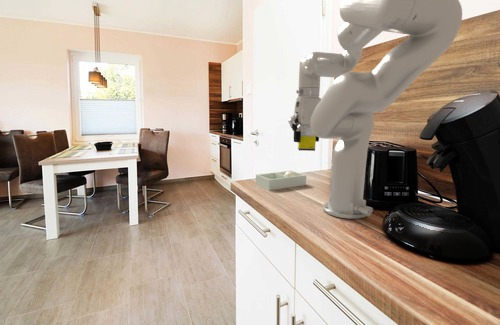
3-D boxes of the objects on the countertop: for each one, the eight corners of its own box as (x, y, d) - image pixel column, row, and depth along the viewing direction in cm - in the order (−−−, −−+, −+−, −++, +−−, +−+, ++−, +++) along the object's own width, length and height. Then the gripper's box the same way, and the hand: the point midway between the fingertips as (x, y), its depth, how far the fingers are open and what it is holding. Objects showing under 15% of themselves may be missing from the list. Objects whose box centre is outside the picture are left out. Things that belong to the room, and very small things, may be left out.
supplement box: (313, 149, 101) (314, 120, 99) (315, 151, 95) (316, 120, 94) (297, 148, 102) (298, 120, 100) (298, 150, 96) (300, 120, 94)
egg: (297, 183, 108) (298, 172, 108) (288, 185, 106) (288, 173, 105) (290, 181, 113) (290, 169, 112) (280, 182, 110) (281, 171, 110)
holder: (305, 186, 107) (306, 175, 107) (269, 191, 99) (269, 179, 98) (290, 180, 116) (291, 170, 115) (255, 185, 107) (255, 174, 107)
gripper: (295, 91, 88) (293, 143, 91) (334, 94, 96) (330, 141, 99) (283, 93, 94) (281, 141, 98) (319, 95, 102) (317, 140, 106)
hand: (306, 141), depth 98 cm, fingers closed on supplement box, 8 cm apart
